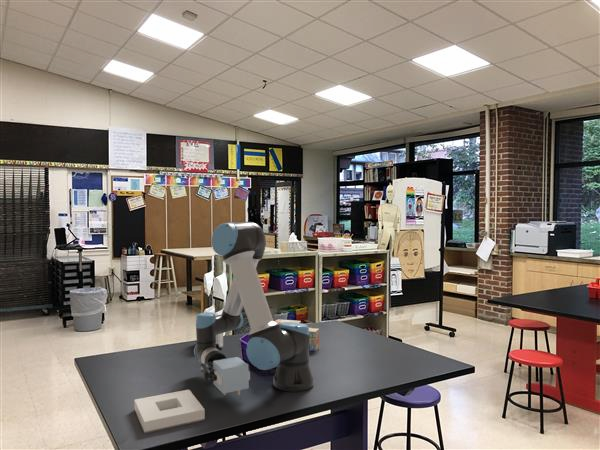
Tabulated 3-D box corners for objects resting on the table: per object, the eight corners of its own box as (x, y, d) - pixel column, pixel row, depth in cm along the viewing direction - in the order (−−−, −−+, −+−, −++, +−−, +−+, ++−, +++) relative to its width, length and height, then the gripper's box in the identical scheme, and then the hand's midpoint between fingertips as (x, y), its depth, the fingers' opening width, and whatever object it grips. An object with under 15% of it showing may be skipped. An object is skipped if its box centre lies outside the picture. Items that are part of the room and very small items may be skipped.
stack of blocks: (319, 347, 219) (319, 322, 219) (315, 351, 214) (315, 325, 213) (277, 343, 226) (277, 318, 226) (272, 347, 220) (272, 321, 220)
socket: (204, 420, 143) (204, 409, 143) (144, 433, 135) (144, 421, 135) (189, 399, 159) (189, 389, 159) (134, 410, 150) (134, 399, 150)
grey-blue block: (248, 395, 155) (248, 364, 154) (223, 401, 150) (222, 369, 150) (238, 386, 163) (237, 356, 163) (213, 391, 159) (213, 360, 159)
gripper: (241, 365, 178) (265, 383, 158) (185, 375, 167) (203, 396, 148) (241, 345, 178) (265, 361, 158) (184, 354, 167) (203, 373, 148)
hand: (235, 378), depth 153 cm, fingers closed on grey-blue block, 9 cm apart
